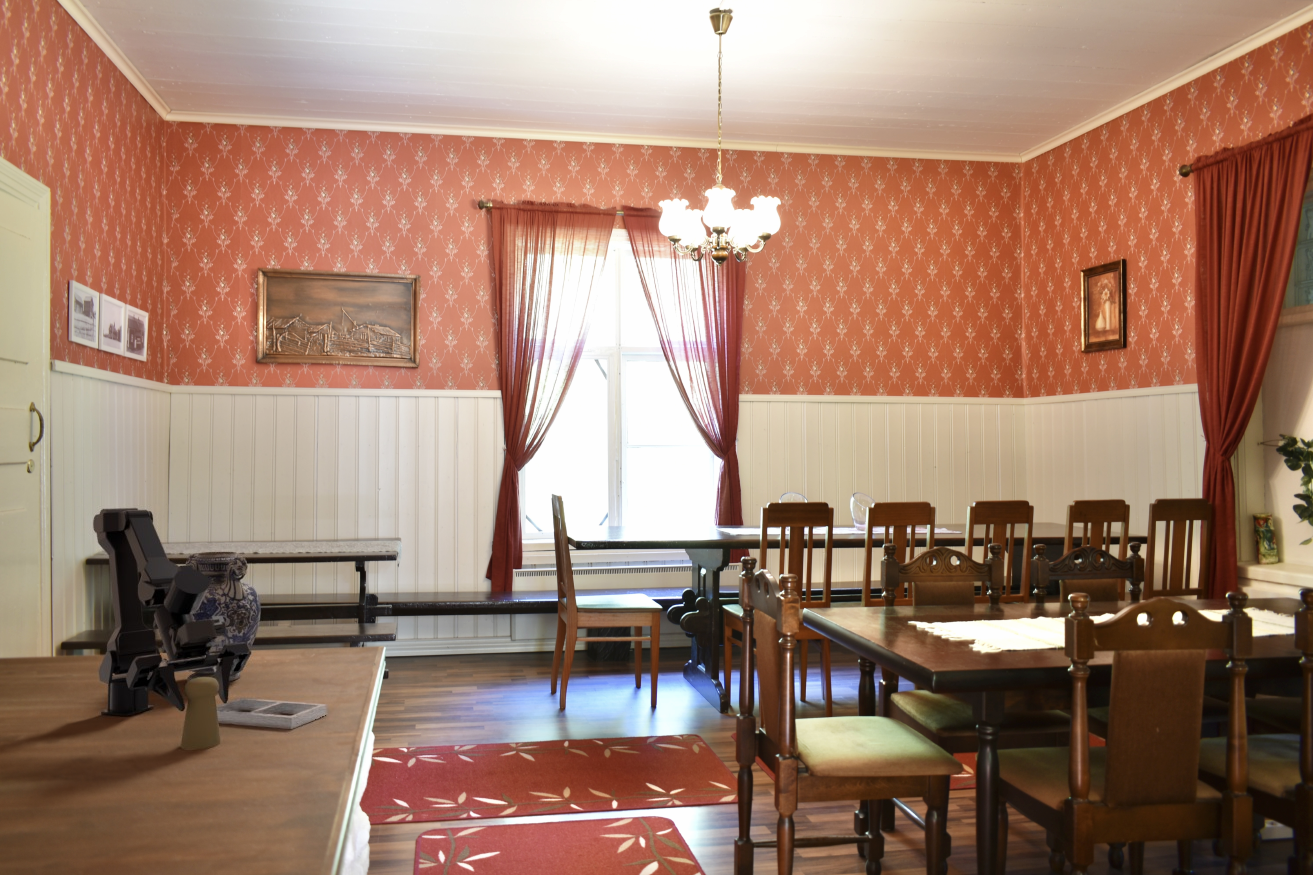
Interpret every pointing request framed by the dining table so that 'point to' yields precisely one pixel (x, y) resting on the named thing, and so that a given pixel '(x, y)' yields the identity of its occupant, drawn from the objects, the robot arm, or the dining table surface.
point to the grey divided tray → (269, 713)
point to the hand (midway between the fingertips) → (205, 705)
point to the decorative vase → (226, 602)
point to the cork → (201, 714)
